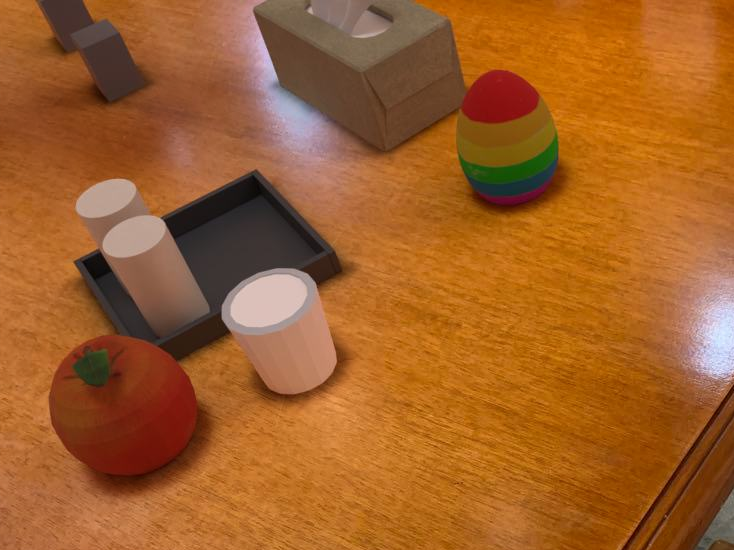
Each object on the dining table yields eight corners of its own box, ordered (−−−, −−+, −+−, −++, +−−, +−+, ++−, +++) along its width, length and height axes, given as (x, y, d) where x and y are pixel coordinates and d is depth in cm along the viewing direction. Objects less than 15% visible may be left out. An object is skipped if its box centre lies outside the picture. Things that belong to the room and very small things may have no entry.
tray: (150, 381, 79) (135, 357, 76) (88, 285, 87) (72, 261, 85) (344, 276, 83) (334, 250, 80) (267, 194, 91) (256, 168, 89)
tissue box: (472, 105, 94) (432, -78, 82) (388, 157, 91) (333, -24, 79) (359, 43, 104) (307, -129, 92) (279, 88, 101) (215, -84, 89)
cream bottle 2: (164, 348, 80) (114, 266, 73) (142, 317, 82) (93, 235, 76) (219, 318, 81) (175, 235, 74) (196, 289, 83) (152, 206, 77)
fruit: (194, 378, 78) (133, 274, 70) (232, 457, 73) (170, 354, 65) (75, 434, 76) (-2, 334, 68) (104, 519, 71) (24, 421, 63)
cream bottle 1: (136, 307, 83) (86, 226, 77) (116, 279, 86) (67, 198, 79) (189, 279, 84) (144, 197, 78) (168, 252, 87) (123, 170, 81)
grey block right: (111, 105, 104) (81, 48, 99) (99, 90, 106) (69, 34, 102) (147, 89, 105) (119, 31, 100) (134, 74, 107) (106, 17, 103)
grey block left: (69, 56, 112) (40, 1, 107) (58, 43, 114) (29, -12, 109) (103, 40, 113) (75, -15, 108) (91, 28, 115) (64, -27, 110)
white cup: (239, 377, 77) (201, 307, 72) (310, 326, 80) (279, 253, 74) (292, 419, 74) (256, 348, 68) (365, 364, 76) (336, 291, 70)
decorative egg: (491, 230, 83) (465, 118, 75) (453, 181, 88) (425, 70, 80) (580, 192, 84) (565, 78, 76) (538, 145, 89) (519, 33, 81)
